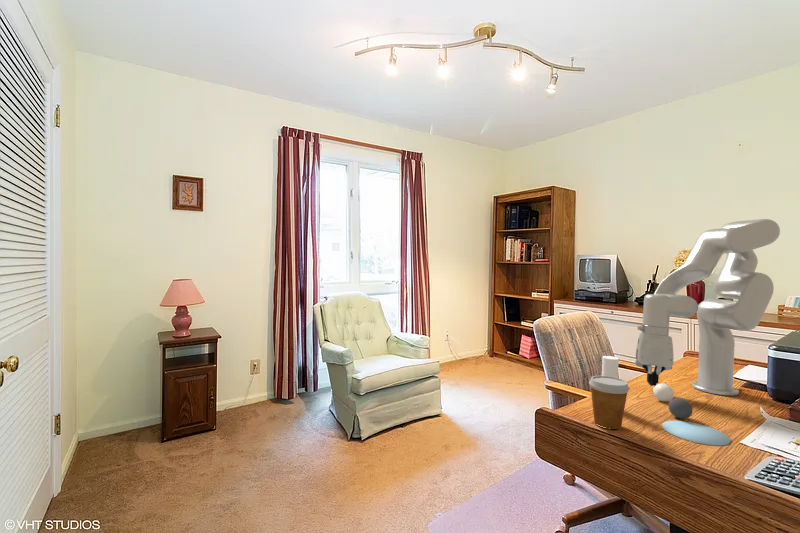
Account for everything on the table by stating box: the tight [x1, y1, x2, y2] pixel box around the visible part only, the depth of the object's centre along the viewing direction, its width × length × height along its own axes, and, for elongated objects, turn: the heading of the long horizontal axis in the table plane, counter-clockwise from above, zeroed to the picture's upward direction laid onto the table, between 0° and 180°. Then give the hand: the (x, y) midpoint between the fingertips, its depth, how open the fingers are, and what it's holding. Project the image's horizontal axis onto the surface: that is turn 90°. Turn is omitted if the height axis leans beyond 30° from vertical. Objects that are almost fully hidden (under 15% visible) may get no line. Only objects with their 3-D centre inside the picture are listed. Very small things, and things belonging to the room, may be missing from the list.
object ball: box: [668, 397, 694, 420], centre depth 110 cm, size 6×6×6 cm
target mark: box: [661, 420, 731, 447], centre depth 100 cm, size 14×14×1 cm
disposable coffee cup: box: [588, 375, 631, 430], centre depth 104 cm, size 10×10×12 cm
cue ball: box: [652, 382, 675, 403], centre depth 123 cm, size 6×6×6 cm
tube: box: [601, 355, 620, 378], centre depth 116 cm, size 4×4×15 cm
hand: (652, 384), depth 132 cm, fingers closed
